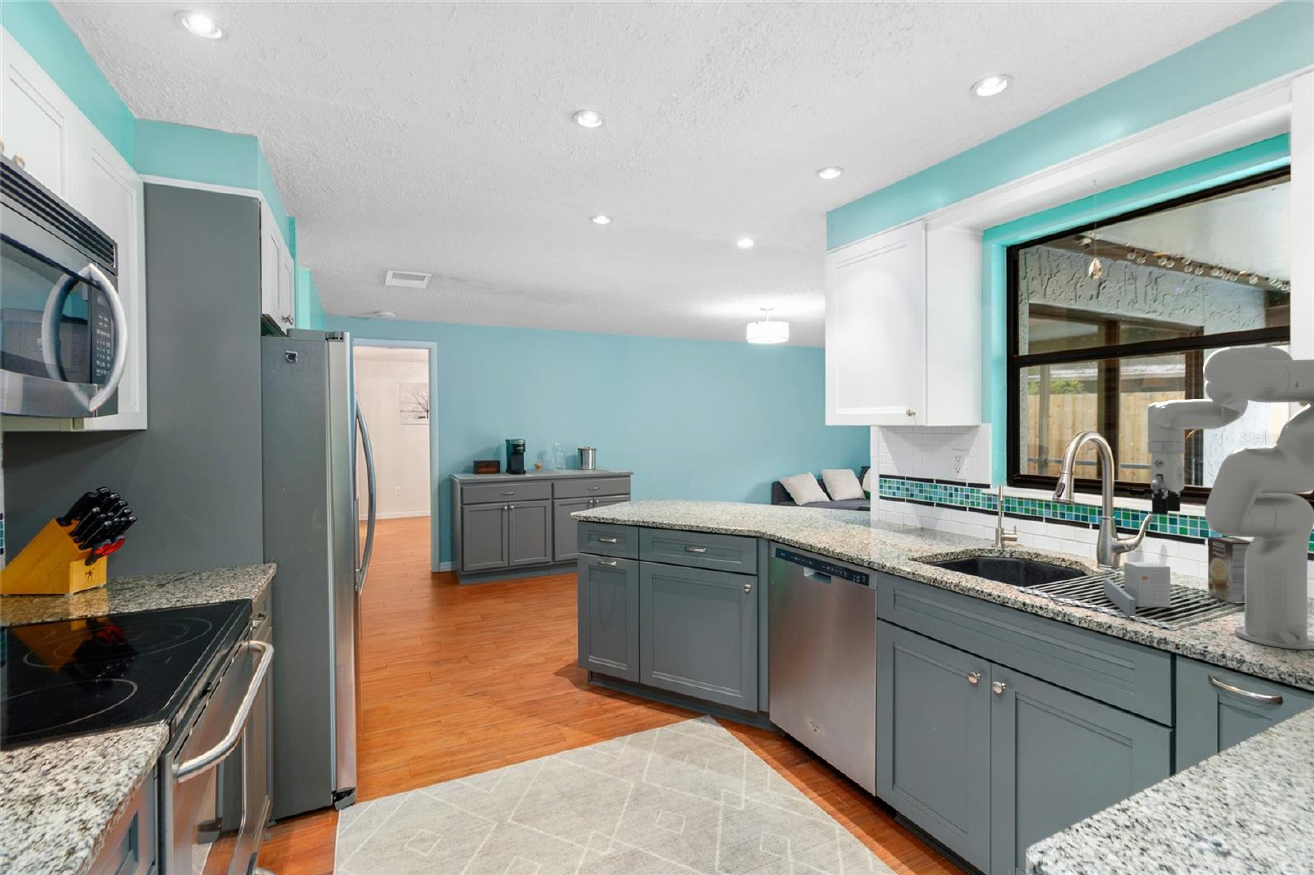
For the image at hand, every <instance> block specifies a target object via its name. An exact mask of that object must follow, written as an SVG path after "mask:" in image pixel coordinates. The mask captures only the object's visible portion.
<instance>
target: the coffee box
mask: <svg viewBox="0 0 1314 875" xmlns="http://www.w3.org/2000/svg"><path fill="white" fill-rule="evenodd" d="M1207 537H1208V538H1207V542H1208V545H1207V546H1208V549H1207V550H1208V552H1207V553H1208V555H1207V556H1208V557H1207V558H1208V559H1207V563H1208V564H1207V565H1208V566H1207V567H1208V568H1207V572H1208V573H1207V578H1208V580H1207V582H1208V584H1207V586H1208V587H1207V588H1208V589H1207V590H1208V591H1207V594H1209V596H1210V597H1214V598H1216V599H1218V598H1219V600H1222V601H1223V602H1227V603H1229V602H1231V603H1230V604H1233V602H1234V603H1235V602H1242V603H1243V602H1245V579H1244V568H1245V553H1246V550H1247V548H1248V546H1249V544H1250V543H1251V541H1252V540H1247V539H1242V538H1239V537H1236V536H1207Z"/></svg>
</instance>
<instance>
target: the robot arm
mask: <svg viewBox="0 0 1314 875" xmlns="http://www.w3.org/2000/svg"><path fill="white" fill-rule="evenodd" d="M1202 370H1203V375H1204V378H1205V379H1206V382H1205V385H1204V390H1205V394H1206V395H1207V396H1208V398H1209V399H1178V400H1177V399H1174V400H1168V401H1164V402H1163V401H1162V402H1154V403H1151V404H1149V405H1148V408H1147V455H1151V459H1150V488H1151V492H1152V494H1151V512H1152V514H1155V515H1156V514H1157V515H1168V514H1169V512H1178V513H1179V512H1181V491H1183V490H1184V489H1185V474H1184V463H1183V462H1184V461H1183V456H1182V455H1185V430H1213V429H1214V430H1215V429H1220V428H1223V427H1226V426H1227V425H1230V424H1232V423H1233V422H1236V421H1237V420H1239V419H1240V418H1241V417H1242V416H1243V415H1244V414H1245V413H1246V410H1247V408H1248V406H1249V401H1251V402H1255V403H1264V404H1265V403H1267V404H1268V403H1269V404H1270V403H1307V405H1306V406H1305V407H1303V408H1302V409H1300V410H1299V411H1297V412H1296V413H1295V414H1294V415H1292V417H1290V418H1289V419H1288V421H1287V422H1285V424H1284V425H1283V427H1282V429H1281V431H1280V434H1279V435H1278V438H1277V440H1276V441H1275V443H1274V444H1273V445H1271V446H1268V447H1266V446H1264V447H1262V446H1261V447H1258V446H1257V447H1256V446H1255V447H1243V448H1240V449H1239V448H1238V449H1237V450H1234V451H1233V452H1231V453H1230V454H1229V455H1227V457H1226V458H1225V459H1224V460H1223V462H1222V463H1221V466H1220V468H1219V470H1218V472H1217V475H1216V476H1215V481H1214V483H1213V486H1212V488H1211V491H1210V493H1209V496H1208V498H1207V501H1206V505H1205V510H1204V515H1205V516H1204V517H1205V523H1206V524H1207V526H1208V527H1209V528H1210V529H1211V531H1213V532H1215V533H1216V534H1219V535H1220V536H1221V535H1222V536H1224V537H1236V538H1239V537H1241V538H1242V537H1247V538H1248V537H1250V538H1252V540H1250V541H1251V543H1250V544H1249V546H1248V548H1247V550H1246V553H1245V568H1244V579H1245V604H1244V625H1241V626H1237V627H1235V628H1234V633H1235V635H1236V636H1237V637H1239V638H1241V639H1243V640H1246V641H1248V642H1252V643H1257V644H1259V645H1265V646H1269V647H1275V648H1283V649H1288V650H1289V649H1290V650H1314V637H1312V636H1309V635H1308V559H1309V558H1308V554H1309V553H1308V552H1309V544H1310V538H1311V534H1312V531H1313V528H1314V509H1313V506H1312V505H1311V504H1310V502H1309V501H1308V500H1307V499H1305V498H1303V497H1302V496H1299V495H1297V494H1303V493H1309V492H1312V491H1314V359H1293V357H1292V356H1291V354H1290V353H1288V352H1287V351H1285V350H1283V349H1281V348H1278V347H1272V346H1244V347H1243V346H1241V347H1240V346H1239V347H1238V346H1236V347H1225V348H1221V349H1218V350H1216V351H1214V352H1213V353H1211V354H1210V355H1209V356H1208V358H1206V360H1205V362H1204V365H1203V369H1202Z"/></svg>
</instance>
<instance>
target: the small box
mask: <svg viewBox="0 0 1314 875" xmlns="http://www.w3.org/2000/svg"><path fill="white" fill-rule="evenodd" d="M1123 572H1124V573H1123V574H1124V575H1123V577H1124V578H1123V583H1124V585H1123V586H1124V588H1123V590H1124V591H1125V592H1126V593H1128V594H1129V595H1130V596H1131V597H1133V598H1134V599H1135V607H1138V608H1171V606H1172V604H1171V603H1172V602H1171V567H1170V566H1169V565H1166V564H1162V563H1159V562H1153V561H1152V562H1149V561H1144V562H1143V561H1140V562H1139V561H1138V562H1137V561H1134V562H1133V561H1131V562H1130V561H1127V562H1126V561H1124V563H1123Z"/></svg>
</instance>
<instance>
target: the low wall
mask: <svg viewBox="0 0 1314 875" xmlns="http://www.w3.org/2000/svg"><path fill="white" fill-rule="evenodd" d="M1104 594H1105V595H1106V596H1105V595H1104ZM1103 595H1104V596H1105V597H1106V598H1107V599H1108V598H1109V599H1110V600H1109V599H1108V600H1109V601H1110V602H1112V603H1113V604H1114V605H1115V606H1116V607H1117V608H1118V607H1119V608H1120V609H1121V610H1122V611H1123V612H1125V613H1126V614H1127V615H1128V616H1135V617H1136V606H1135V599H1134V598H1133V597H1131V596H1130V595H1129V594H1128V593H1126V592H1125V591H1124V588H1122V587H1121V586H1120V585H1118V584H1117V583H1116V582H1114V581H1113V580H1111V578H1108V577H1103ZM1119 608H1118V609H1119ZM1120 609H1119V610H1120ZM1121 610H1120V611H1121ZM1122 611H1121V612H1122ZM1123 612H1122V613H1123ZM1125 613H1124V614H1125ZM1126 614H1125V615H1126ZM1127 615H1126V616H1127ZM1128 616H1127V617H1128Z"/></svg>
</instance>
